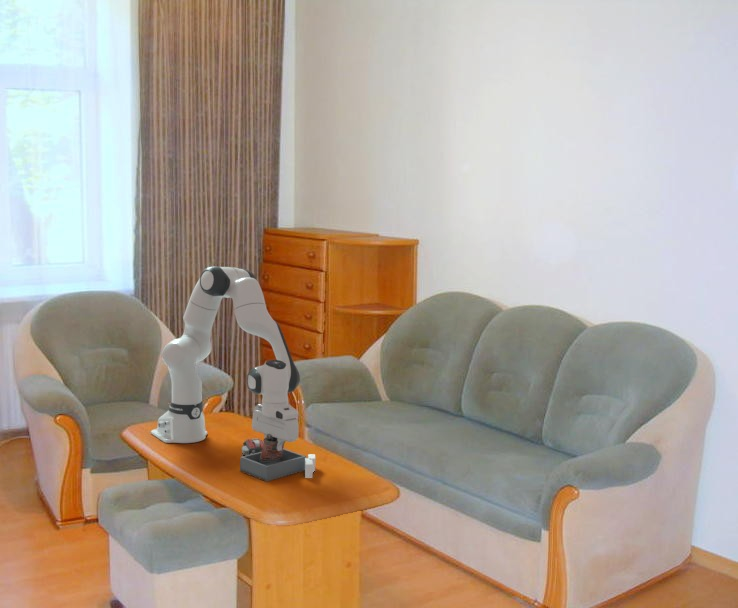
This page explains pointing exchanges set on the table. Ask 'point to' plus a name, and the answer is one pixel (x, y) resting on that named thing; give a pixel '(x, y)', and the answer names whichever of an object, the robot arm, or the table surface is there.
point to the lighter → (270, 450)
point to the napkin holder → (309, 465)
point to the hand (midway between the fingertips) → (274, 448)
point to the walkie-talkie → (252, 446)
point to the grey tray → (272, 465)
